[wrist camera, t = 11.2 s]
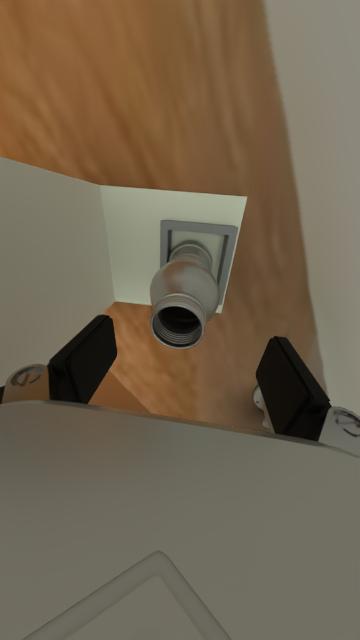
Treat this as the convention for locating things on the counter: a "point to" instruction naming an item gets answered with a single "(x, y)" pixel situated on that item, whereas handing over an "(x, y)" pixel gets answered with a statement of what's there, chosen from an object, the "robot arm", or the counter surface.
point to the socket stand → (91, 252)
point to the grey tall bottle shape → (184, 296)
